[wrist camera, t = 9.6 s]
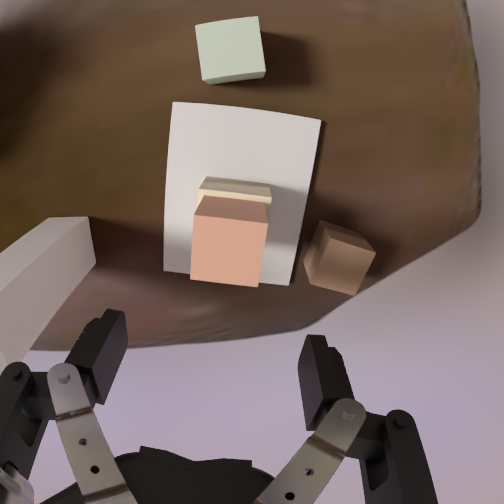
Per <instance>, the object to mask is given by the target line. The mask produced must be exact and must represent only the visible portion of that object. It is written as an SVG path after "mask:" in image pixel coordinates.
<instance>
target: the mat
mask: <svg viewBox="0 0 504 504" xmlns="http://www.w3.org/2000/svg"><path fill="white" fill-rule="evenodd" d="M320 125H321V120H317V119H312V118H307V117H302V116H296V115H290V114H284V113H278V112H271V111H265V110H257V109H250V108H242V107H233V106H223V105H212V104H200V103H185V102H173V107H172V116H171V126H170V137H169V148H168V161H167V176H166V193H165V217H164V271H170V272H178V273H185V274H190V272H191V251H192V233H193V218H194V213H195V211H196V209H197V201H198V190H199V187H200V186H201V184H202V183H203V181H204V179H205V178H206V176H210V177H219V178H228V179H236V180H244V181H252V182H260V183H267V184H269V188H270V192H271V196H272V200H271V206H270V212H269V218H268V228H267V234H266V240H265V246H264V252H263V258H262V264H261V270H260V276H259V282H260V283H269V284H278V285H287V286H289V282H290V277H291V273H292V268H293V264H294V259H295V254H296V250H297V245H298V240H299V235H300V231H301V226H302V221H303V216H304V211H305V206H306V201H307V196H308V191H309V186H310V180H311V175H312V170H313V164H314V159H315V153H316V148H317V142H318V136H319V131H320Z"/></svg>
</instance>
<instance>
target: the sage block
mask: <svg viewBox="0 0 504 504" xmlns="http://www.w3.org/2000/svg"><path fill="white" fill-rule="evenodd" d="M195 28H196V36H197V44H198V51H199V58H200V66H201V73H202V80H203V81H205V82H206V83H208V84H210V85H213V84H219V83H226V82H232V81H240V80H248V79H256V78H263V77H264V74H265V72H266V70H265V63H264V56H263V49H262V42H261V35H260V29H259V22H258V16H255V17H246V18H237V19H230V20H223V21H216V22H210V23H205V24H199V25H195Z"/></svg>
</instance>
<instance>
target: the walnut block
mask: <svg viewBox="0 0 504 504" xmlns="http://www.w3.org/2000/svg"><path fill="white" fill-rule="evenodd" d="M375 254H376V252H375V251H374V250H373V248H372V247H371V246H370V244H369V243H368V242H367V241H366V239H365V238H364V237H363V236H362V235H361V233H358V232H355V231H352V230H349V229H346V228H343V227H340V226H337V225H334V224H331V223H328V222H325V221H322V220H320V221H319V223H318V226H317V228H316V231H315V233H314V235H313V238H312V240H311V243H310V245H309V248H308V250H307V252H306V255H305V257H304V259H303V262H304V266H305V269H306V272H307V275H308V278H309V281H310V284H312V285H316V286H320V287H323V288H327V289H331V290H335V291H339V292H343V293H346V294H350V295H354V296H355V294H356V292H357V290H358V288H359V286H360V284H361V282H362V280H363V279H364V277H365V275H366V273H367V271H368V269H369V267H370V265H371V263H372V261H373V259H374V257H375Z"/></svg>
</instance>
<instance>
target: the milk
mask: <svg viewBox="0 0 504 504" xmlns="http://www.w3.org/2000/svg"><path fill="white" fill-rule="evenodd" d="M95 264H96V259H95V254H94V248H93V243H92V237H91V231H90V225H89V219H88V217H53V218H48V219H47V220H45V221H44V222H42V223H41V224H39V225H38V226H36V227H35V228H34V229H32V230H31V231H29V232H28V233H27V234H25V235H24V236H23V237H21V238H20V239H19V240H17V241H16V242H15V243H13V244H12V245H11V246H9V247H8V248H7V249H5V250H4V251H3V252H2V253H0V375H1V373H2V372H3V370H4V368H5V367H6V366H7V365H9V364H10V363H13V362H21V361H22V359H23V358H24V356H25V355H26V353H27V352H28V351H29V349H30V348H31V346H32V345H33V343H34V342H35V341H36V339H37V338H38V336H39V335H40V334H41V332H42V331H43V329H44V328H45V327H46V325H47V324H48V323H49V321H50V320H51V319H52V317H53V316H54V315H55V313H56V312H57V311H58V310H59V308H60V307H61V306H62V304H63V303H64V302H65V301H66V299H67V298H68V297H69V296H70V294H71V293H72V292H73V291H74V289H75V288H76V287H77V286H78V284H79V283H80V282H81V281H82V280H83V278H84V277H85V276H86V275H87V274H88V272H89V271H90V270H91V269H92V268H93V266H94V265H95Z"/></svg>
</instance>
